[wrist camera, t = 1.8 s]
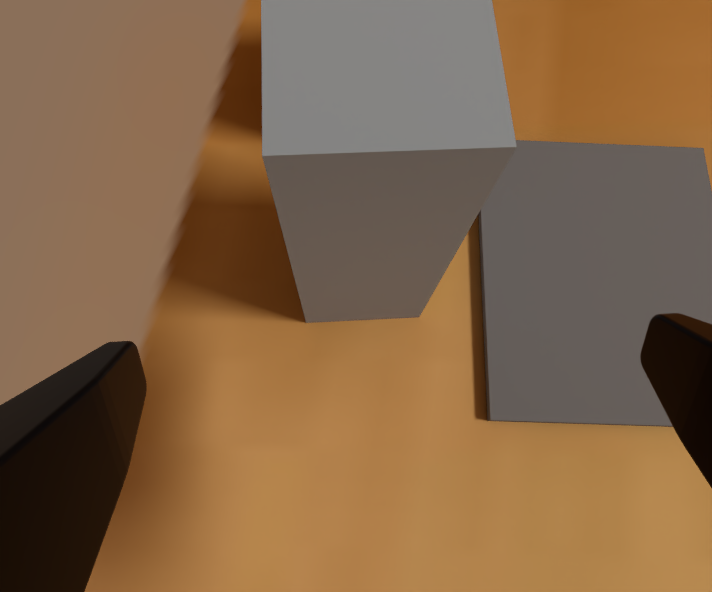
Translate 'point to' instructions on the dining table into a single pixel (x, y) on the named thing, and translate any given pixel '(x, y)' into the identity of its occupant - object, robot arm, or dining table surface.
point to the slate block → (379, 144)
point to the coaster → (589, 276)
